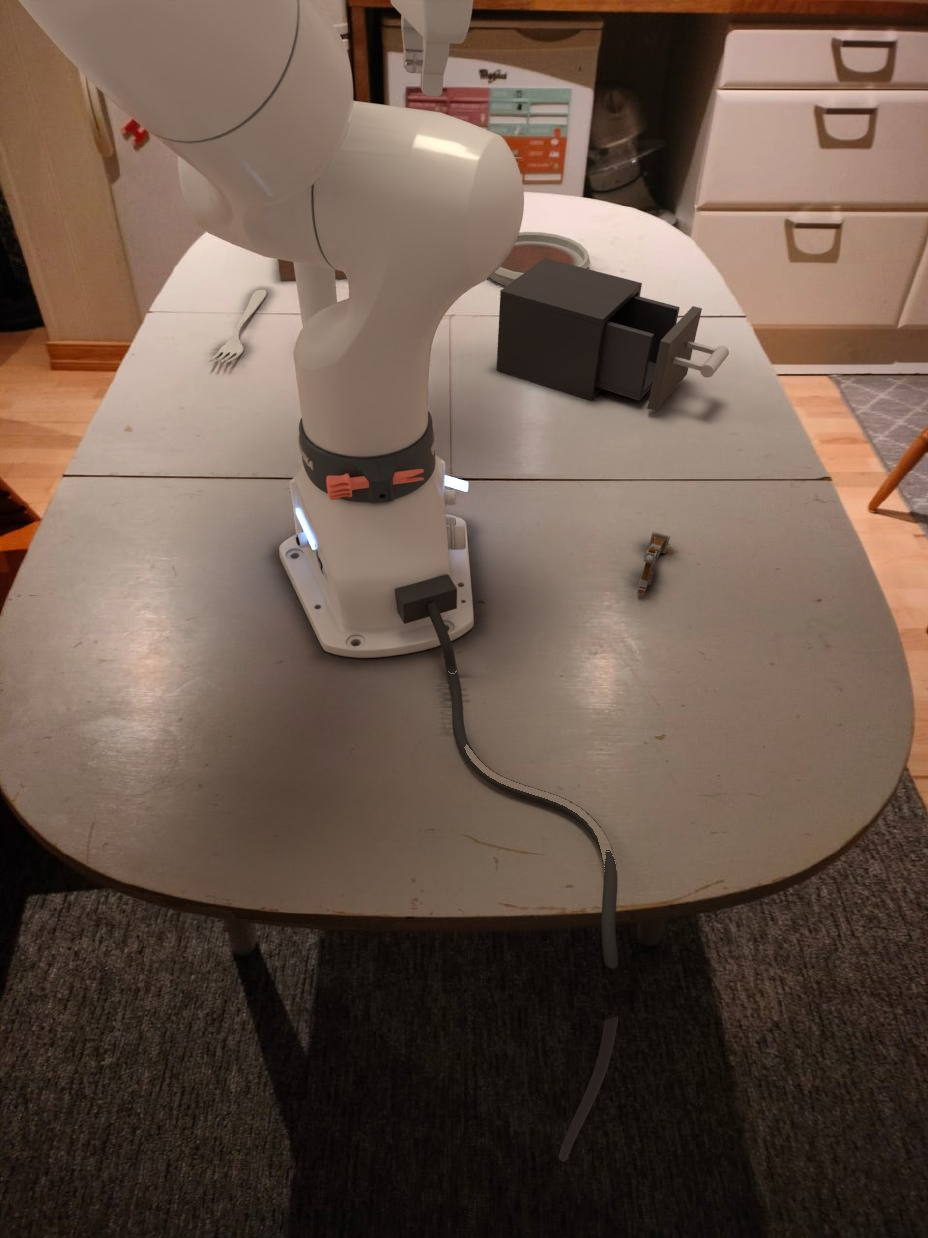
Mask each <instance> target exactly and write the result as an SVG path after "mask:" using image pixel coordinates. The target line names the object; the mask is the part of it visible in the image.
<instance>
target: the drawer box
mask: <svg viewBox="0 0 928 1238" xmlns="http://www.w3.org/2000/svg"><path fill="white" fill-rule="evenodd" d="M642 285H643V283H642V282H640V281H636V280H632V279H628V278H625V277H620V276H617V275H612V274H609V273H605V272H602V271H598V270H594V269H590V268H587V269H586V268H582V267H578V266H574V265H570V264H567V263H563V262H559V261H555V260H551V259H547V258H543V259H542V260H541V261H539V262H538V263H537V264H535V265H534V266H533V267H531V268H530V269H529V270H527V271H526V272H525V273H523V274H522V275H521V276H519V277H518V278H517V279H515V280H514V281H513V282H511V283H510V284H509V285H507V286H505V287H504V288H502V289H501V290H500V293H499V312H498V313H499V314H498V330H497V332H498V333H497V351H496V371H497V372H500V373H503V374H507V375H511V376H513V377H516V378H519V379H522V380H525V381H528V382H532V383H535V384H538V385H540V386H541V385H542V386H545V387H547V388H551V389H554V390H557V391H560V392H564V393H566V394H569V395H573V396H576V397H579V398H582V399H585V400H588V401H593V399H595V397H596V396H598V395H599V393H600V392H602V390H603V389H601V388H598V387H596V381H597V374H598V367H599V360H600V353H601V346H602V340H603V333H604V326H605V322H606V321H608V320H609V319H610V318H611V317H612V316H613V315H614V314H615V313H616V312H617V311H618V310H619V309H620V308H621V307H622V306H623V305H625V304H626V303H627V302H628V301H629V300H630V299H631V298H632V297H633V296H634V295H636V296H640V297H641V292H642V287H643V286H642Z"/></svg>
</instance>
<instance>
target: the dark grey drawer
mask: <svg viewBox="0 0 928 1238" xmlns="http://www.w3.org/2000/svg"><path fill="white" fill-rule="evenodd" d="M680 309H681V308H680V307H679V306H678V305H673V304H669V303H665V302H662V301H658V300H655V299H650V298H646V297H643V296H641V295H640V296H636V295H634V296H633V297H632V298H631V299H630V300H629V301H628V302H627V303H626V304H625V305H623V306H622V307H621V308H620V309H619V310H618V311H617V312H616V313H615V314H614V315H613V316H612V317H611V318H610V319H609V320H608V321H606V322H605V326H604V333H603V340H602V346H601V353H600V360H599V367H598V374H597V381H596V387H598V388H601V389H602V390H604V391H607V392H610V393H614V394H618V395H620V396H624V397H627V398H629V399H630V398H631V399H632V400H636V401H641V400H642V398H644V396H646V394H647V393H648V392H649V390H650V392H649V396H648V397H649V398H648V402H647V407H646V408H647V410H650V411H654V412H657V411H658V410H659V409H660V408H661V407H662V405H663V404H664V403H665V402H666V401H667V399H668V398H669V397H670V396H671V394H672V393H673V392H674V391H675V390H676V389H677V387H678V386H679V385H680V384H681V382H682V381H683V380H684V379H685V378H686V376H687V375H688V372H689V369H693V370H696V371H698V372H700V375H701V376H702V377H703V378H711V377H713V376H714V374H715V373H716V372H717V370H718V369H719V368H720V366H721V365H722V364H723V363H724V362H725V360H726V359H727V358H728V356H729V354H730V350H729V347H727V346H726V345H719V346H717V347H716V348H715V347H712V346H709V345H705V344H702V343H698V342H695V341H696V336H697V333H698V327H699V324H700V319H701V315H702V311H703V308H702V307H699V306H694V305H692V306H691V308H689V309H688V310H687V312H686V313H685V314H684V315H683V316H682V317H681V318H680V319H679V320H678V318H679V313H680ZM693 350H695V351H697V352H701V353H705V354H710V356H709V357H708V358H707V359H706V360H705V362H703V363H701V362H697V361H692V360H691V359H692V354H693Z"/></svg>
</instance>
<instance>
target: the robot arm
mask: <svg viewBox="0 0 928 1238" xmlns="http://www.w3.org/2000/svg"><path fill="white" fill-rule="evenodd" d="M18 2H19V3H20V4H21V6H22V7H23V8H24V9H25V10H26V11H27V13H28V14H29V16H30V17H31V18H32V19H33V20H34V22H35V23H36V24H37V25H38V26H39V28H40V29H41V30H42V31H43V32H44V33H45V34H46V35H47V36H48V37H49V39H50V40H51V41H52V43H54V45H55V46H56V47H57V48H58V49H59V50H60V51H61V52H62V54H64V56H65V57H66V58H67V60H69V62H71V63H72V64H73V65H74V67H76V69H78V71H80V73H81V74H83V76H84V77H85V78H86V79H87V80H88V81H89V82H90V83H91V84H92V85H93V86H95V87H96V88H97V89H98V90H99V91H100V92H101V93H102V94H103V95H104V96H105V97H106V98H108V100H110V101H111V102H112V103H113V104H114V105H115V106H117V108H119V109H120V110H121V111H123V113H125V114H126V115H127V116H129V117H130V119H132V120H133V121H135V122H136V123H137V124H138V125H139V126H140V127H142V128H143V129H144V130H145V131H147V133H149V134H151V135H152V136H153V137H154V138H156V139H157V140H158V141H159V142H160V143H162V144H163V145H165V146H166V147H167V148H168V149H170V150H171V151H172V152H173V153H175V154H176V155H177V173H178V180H179V185H180V188H181V189H180V190H181V192H182V196H183V198H184V201H185V203H186V205H187V208H188V210H189V211H190V214H191V216H192V217H193V219H194V221H195V222H196V223H197V224H198V226H199V227H200V228H201V229H202V230H204V231H205V233H208V234H209V235H211V236H214V237H216V238H218V239H220V240H222V241H225V242H226V243H229V244H232V245H234V246H236V247H239V248H241V249H244V250H246V251H248V252H251V253H253V254H257V255H260V256H262V257H265V258H270V259H274V260H278V259H280V260H285V261H291V262H296V263H302V264H307V265H313V266H318V267H324V268H329V269H334V270H339V271H342V272H344V273H345V275H346V277H347V278H346V279H347V284H348V298H346V299H343V300H339V301H337V303H335V304H332V305H330V306H328V307H326V308H325V309H323V310H321V311H319V312H318V313H316V314H315V315H314V316H312V317H311V318H310V319H309V320H308V321H307V322H306V324H305V325H304V326H302V328H301V330H300V332H299V333H298V336H297V338H296V341H295V345H294V349H293V361H294V369H295V376H296V385H297V392H298V399H299V407H300V415H301V417H300V419H299V423H298V433H299V434H298V447H299V451H300V454H301V460H302V461H301V462H302V465H301V467H300V468H299V470H298V472H297V473H296V474H295V475H294V476H293V477H292V479H291V480H290V481H289V488H290V497H291V505H292V514H293V520H294V527H295V534H293V535H291V536H290V537H288V538H286V539H285V540H284V541H283V542H282V543H281V544H280V545H279V547H278V548H279V549H278V551H279V560H280V561H281V563H282V566H283V568H284V570H285V572H286V574H287V576H288V579H289V580H290V583H291V584H292V587H293V589H294V591H295V593H296V595H297V597H298V600H299V602H300V604H301V606H302V608H303V610H304V612H305V614H306V617H307V619H308V621H309V623H310V625H311V628H312V629H313V631H314V634H315V636H316V638H317V640H318V642H319V644H320V646H321V647H322V649H323V650H324V651H325V652H326V653H328V654H329V653H330V654H332V655H336V656H340V657H347V658H359V659H365V658H366V659H367V658H368V659H369V658H371V659H372V658H373V659H374V658H383V657H384V658H385V657H394V656H400V655H407V654H411V653H412V654H413V653H417V652H422V651H427V650H429V649H434V648H437V647H440V648H441V653H442V656H443V657H442V658H443V661H444V666H445V671H446V676H447V680H448V684H449V693H450V699H451V719H452V720H451V722H452V730H453V735H454V739H455V743H456V744H457V747H458V750H459V751H460V753H461V755H462V757H463V758H464V759H465V761H466V762H467V763H468V765H469V766H470V767H471V768H472V770H473V771H474V772H475V773H476V774H477V775H478V776H479V777H480V778H482V779H484V780H485V781H486V782H487V783H489V784H491V785H492V786H494V787H496V788H497V789H500V790H502V791H505V792H507V793H509V794H512V795H515V796H518V797H521V798H523V799H528V800H530V801H534V802H537V803H540V804H543V805H546V806H549V807H552V808H553V809H557V810H559V811H561V812H562V813H565V814H567V815H568V816H570V817H572V818H573V819H574V820H575V821H577V822H578V823H580V824H581V825H582V827H584V828H585V829H586V831H587V832H588V834H590V835H591V837H592V839H593V840H594V842H595V844H596V846H597V848H598V850H599V854H600V856H601V858H602V853H601V849H600V845H599V842H598V838H597V836H596V835H595V833H594V831H593V829H592V828H591V827H590V826H589V825H588V823H587V822H586V821H585V820H584V819H583V818H581V817H580V816H579V815H578V814H577V813H575V812H573V811H572V810H570V809H568V808H567V807H565V806H563V805H560V804H558V803H556V802H553V801H550V800H548V799H545V798H542V797H539V796H535V795H532V794H529V793H526V792H523V791H520V790H517V789H514V788H511V787H509V786H506V785H504V784H501V783H499V782H497V781H496V780H494V779H492V778H490V777H489V776H487V775H486V774H485V773H483V772H482V771H481V770H480V769H479V768H478V767H477V766H476V765H475V764H474V763H473V762H472V761H471V759H470V758H469V756H468V755H467V753H466V750H465V748H464V747H465V746H466V744H467V745H468V746H469V748H470V749H471V750H472V751H473V753H474V754H475V755H476V756H477V758H478V759H479V760H480V761H481V762H482V763H483V764H484V765H485V766H486V767H488V768H489V769H490V770H492V771H493V772H495V771H494V770H493V769H491V767H489V766H487V765H486V764H485V762H483V761H482V760H481V759H480V757H479V756H478V755H477V754H476V752H475V751H474V749H473V747H472V746H471V744H470V742H469V739H468V736H467V732H466V728H465V721H464V706H463V694H462V687H461V681H460V676H459V672H458V671H459V670H458V666H457V662H456V657H455V651H454V648H453V647H454V646H453V644H452V642H453V641H455V640H456V639H458V638H461V637H462V636H464V635H465V634H466V633H468V632H469V631H470V630H471V629H472V628H473V627H474V625H475V624H474V623H475V617H474V616H475V615H474V604H473V603H474V602H473V592H472V589H473V588H472V579H471V564H470V554H469V553H470V552H469V541H468V528H467V523H466V521H465V520H464V519H462V518H461V517H459V516H456V515H452V514H448V513H447V512H446V507H447V506H455V505H456V491H455V490H452V489H451V490H449V489H448V490H447V489H446V487H449V488H453V489H456V490H459V491H462V492H466V493H467V492H468V491H469V481H467V480H463V479H459V478H456V477H452V476H449V475H446V461H444V460H443V459H442V458H440V457H439V456H438V455H436V435H435V434H436V433H435V429H434V424H433V417H432V415H431V412H430V411H429V379H430V366H431V365H430V364H431V351H432V347H433V342H434V338H435V335H436V333H437V330H438V327H439V326H440V323H441V322H442V320H443V318H444V316H445V315H446V314H447V312H448V311H449V310H450V309H451V307H452V306H453V305H454V303H456V301H457V300H459V299H460V298H461V297H462V296H463V295H464V294H466V293H467V292H469V291H470V290H471V289H472V288H475V287H476V286H478V285H480V284H482V283H484V282H485V281H487V279H490V278H489V277H490V276H491V275H492V274H493V273H494V272H495V271H496V270H497V269H498V268H499V267H500V266H501V265H502V264H503V262H504V261H505V260H506V258H507V257H508V255H509V254H510V252H511V250H512V249H513V246H514V244H515V242H516V240H517V237H518V235H519V232H521V227H522V222H523V217H524V211H525V192H524V184H523V179H522V174H521V171H520V167H519V164H518V162H517V159H516V157H515V154H514V153H513V151H512V149H511V148H510V146H509V144H508V143H507V141H506V139H505V138H504V137H503V136H501V135H500V134H497V133H495V132H493V131H490V130H488V129H485V128H483V127H480V126H478V125H475V124H473V123H471V122H469V121H465V120H463V119H460V118H457V117H455V116H451V115H449V114H446V113H444V112H440V111H433V110H425V109H418V108H411V107H405V106H404V107H402V106H397V105H394V106H393V105H388V104H380V103H373V102H364V101H357V100H354V81H353V73H352V66H351V62H350V58H349V54H348V50H347V48H346V45H345V43H344V40H343V39H342V36H341V35H340V33H339V32H338V30H337V28H336V27H335V25H334V24H333V22H332V21H331V19H330V18H329V17H328V15H327V13H326V12H325V10H324V9H323V7H322V5H321V4H320V3H319V1H318V0H18ZM390 4H391V5H392V6H393V7H394V9H396V11H397V12H398V13H399V14H400V15H401V16H400V18H401V19H400V28H401V39H402V47H403V51H402V53H403V55H402V57H403V58H402V66H403V68H404V70H405V71H406V72H407V73H408V74H420V84H419V86H420V87H419V89H420V90H421V92H422V93H423V95H425V96H426V97H436V98H437V97H440V96H441V95H442V94H443V89H444V75H445V71H446V67H447V64H448V60H449V56H450V47H451V44H456V45H458V44H463V43H465V40H466V37H467V35H468V32H469V29H470V24H471V19H472V15H473V6H474V0H390ZM456 670H457V672H456V673H455V671H456ZM448 671H449V672H450V673H455V674H450V673H449V672H448ZM495 773H496V774H498V775H500V776H502V777H504V776H503V775H501V774H499V773H497V772H495ZM504 778H506V779H509V780H511V781H513V782H516V783H519V784H522V785H525V786H528V787H532V788H535V789H538V790H541V791H544V792H548V793H550V794H553V795H556V796H559V797H561V798H563V799H565V800H568V801H570V802H571V803H573V804H575V805H576V806H578V807H580V808H581V809H582V810H584V808H582V807H581V806H579V805H578V804H577V803H575V802H572V801H571V800H569V799H567V798H564V797H562V796H561V795H557V794H555V793H552V792H549V791H547V790H546V791H545V790H542V789H540V788H536V787H533V786H529V785H527V784H523V783H520V782H519V781H514V780H512V779H510V778H507V777H504ZM584 811H585V812H586V813H587V814H588V815H590V816H591V817H592V818H593V816H592V815H591V814H590V813H589V812H587V811H586V810H584ZM593 820H594V821H595V822H596V823H597V824H598V825H599V823H598V822H597V821H596V820H595V818H593ZM599 827H600V828H601V829H602V827H601V825H599ZM602 831H603V832H604V830H603V829H602ZM604 834H605V835H606V833H605V832H604ZM606 837H607V839H608V836H607V835H606ZM608 841H609V839H608ZM609 843H610V845H611V842H610V841H609ZM611 846H612V845H611ZM612 850H613V853H614V849H613V848H612ZM606 851H610V850H606ZM605 853H606V854H605V855H606V859H605V860H606V861H605V864H604V865H605V867H604V868H605V869H604V870H605V872H604V870H603V886H602V900H601V901H602V903H601V917H600V918H601V919H600V921H601V926H600V927H601V929H600V931H601V945H602V955H603V956H602V958H603V961H604V965H605V966H607V967H608V968H609V969H613V970H614V969H616V968H617V967H618V964H619V955H618V948H617V933H616V932H617V930H616V928H617V927H616V923H617V922H616V916H617V897H618V896H617V895H618V869H617V870H616V865H617V863H616V864H615V861H614V860H616V858H615V859H614V857H613V856H612V855H613V854H612V853H611V851H610V852H605ZM614 854H615V853H614ZM601 862H602V863H603V860H602V859H601ZM604 873H605V874H604ZM610 923H611V924H610ZM603 1022H604V1024H603V1029H602V1036H601V1042H600V1046H599V1050H598V1055H597V1058H596V1062H595V1065H594V1069H593V1071H592V1074H591V1077H590V1079H589V1082H588V1085H587V1087H586V1089H585V1092H584V1094H583V1096H582V1098H581V1101H580V1103H579V1105H578V1107H577V1110H576V1111H575V1114H574V1116H573V1118H572V1120H571V1122H570V1125H569V1127H568V1129H567V1132H566V1133H565V1136H564V1140H563V1141H562V1144H561V1147H560V1150H559V1153H558V1159H559V1161H561V1162H562V1163H563V1162H566V1161H567V1160H568V1158H569V1155H570V1153H571V1150H572V1148H573V1145H574V1143H575V1141H576V1139H577V1137H578V1135H579V1132H580V1130H581V1129H582V1126H583V1125H584V1122H585V1121H586V1118H587V1117H588V1115H589V1113H590V1111H591V1108H592V1106H593V1104H594V1102H595V1100H596V1099H597V1096H598V1093H599V1092H600V1089H601V1086H602V1084H603V1081H604V1079H605V1076H606V1073H607V1070H608V1067H609V1064H610V1061H611V1057H612V1053H613V1050H614V1045H615V1040H616V1035H617V1030H618V1024H619V1016H614V1017H610V1018H607V1019H604V1021H603Z"/></svg>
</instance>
